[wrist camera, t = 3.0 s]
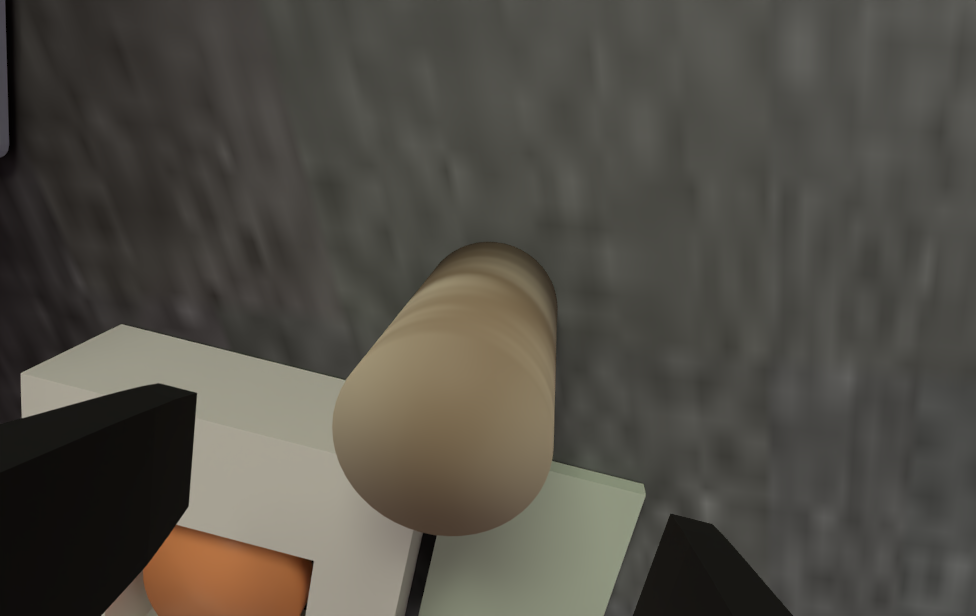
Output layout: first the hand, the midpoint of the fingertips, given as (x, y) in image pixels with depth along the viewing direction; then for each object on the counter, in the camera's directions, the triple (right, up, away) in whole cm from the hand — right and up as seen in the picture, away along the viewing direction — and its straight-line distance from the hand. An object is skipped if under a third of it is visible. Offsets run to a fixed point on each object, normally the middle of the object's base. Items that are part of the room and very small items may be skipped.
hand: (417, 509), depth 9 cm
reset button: (-7, -5, +11) cm, 14 cm away
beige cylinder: (+1, +3, +9) cm, 10 cm away
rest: (+2, -5, +12) cm, 13 cm away
